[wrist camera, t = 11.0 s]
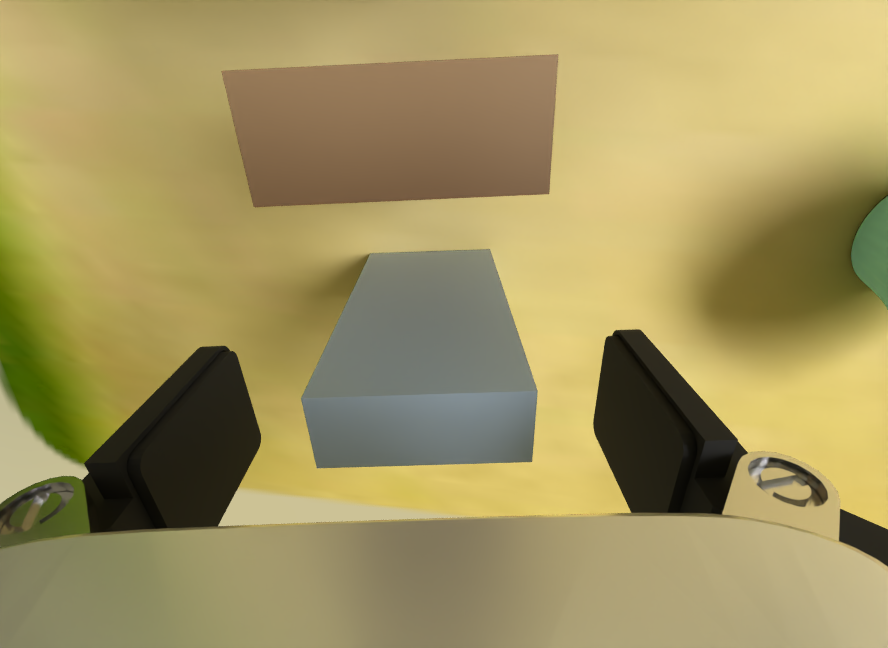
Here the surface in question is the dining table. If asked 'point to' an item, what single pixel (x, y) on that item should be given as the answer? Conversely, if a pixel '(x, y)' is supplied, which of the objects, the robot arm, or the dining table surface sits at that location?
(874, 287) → the cupcake
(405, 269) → the domino
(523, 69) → the domino
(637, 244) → the dining table surface
